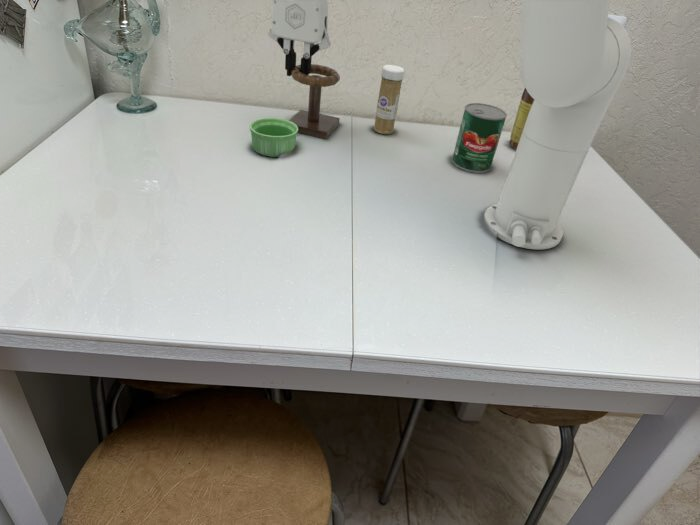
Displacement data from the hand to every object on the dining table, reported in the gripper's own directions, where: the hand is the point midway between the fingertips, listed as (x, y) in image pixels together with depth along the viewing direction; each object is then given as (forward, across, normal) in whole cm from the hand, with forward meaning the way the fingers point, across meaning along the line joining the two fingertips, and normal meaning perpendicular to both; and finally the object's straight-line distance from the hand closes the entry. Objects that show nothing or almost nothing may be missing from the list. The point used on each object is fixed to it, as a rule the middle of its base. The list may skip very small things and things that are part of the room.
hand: (297, 74), depth 99 cm
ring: (-1, +4, 0) cm, 4 cm away
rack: (+10, +4, 0) cm, 11 cm away
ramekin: (+10, +1, -14) cm, 17 cm away
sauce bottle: (+10, +48, +14) cm, 51 cm away
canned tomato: (+10, +38, -1) cm, 39 cm away
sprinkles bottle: (+10, +18, +6) cm, 22 cm away
